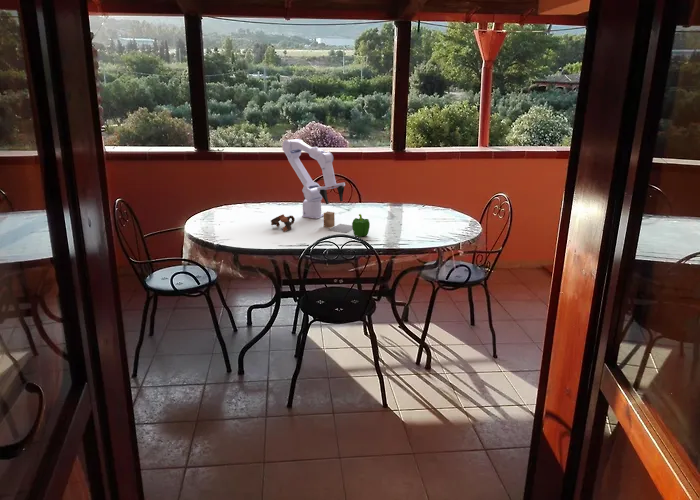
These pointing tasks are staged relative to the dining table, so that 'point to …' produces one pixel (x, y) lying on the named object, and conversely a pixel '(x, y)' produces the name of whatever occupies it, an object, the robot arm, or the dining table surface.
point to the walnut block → (329, 219)
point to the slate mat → (342, 228)
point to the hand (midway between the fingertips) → (334, 202)
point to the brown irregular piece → (283, 219)
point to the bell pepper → (360, 226)
